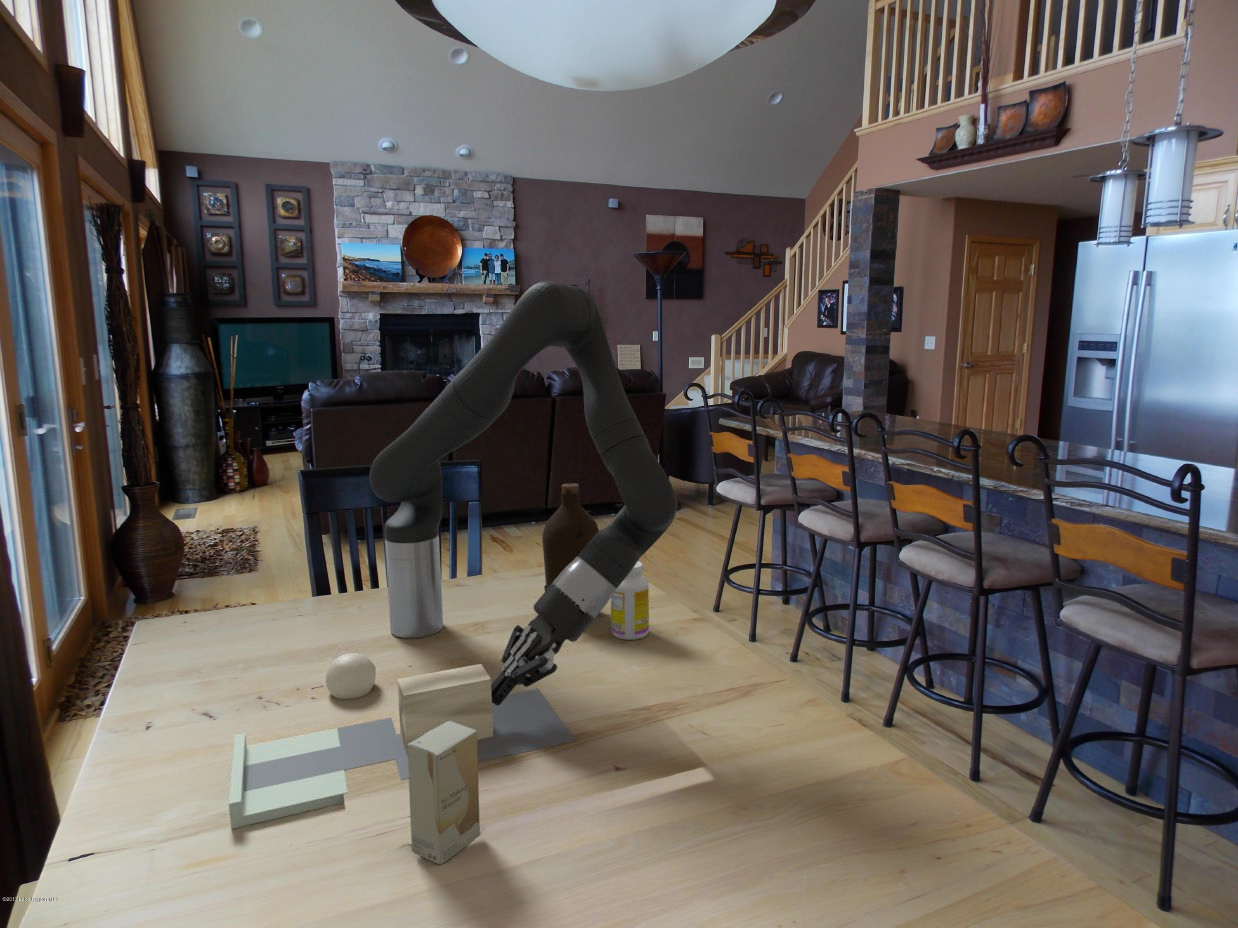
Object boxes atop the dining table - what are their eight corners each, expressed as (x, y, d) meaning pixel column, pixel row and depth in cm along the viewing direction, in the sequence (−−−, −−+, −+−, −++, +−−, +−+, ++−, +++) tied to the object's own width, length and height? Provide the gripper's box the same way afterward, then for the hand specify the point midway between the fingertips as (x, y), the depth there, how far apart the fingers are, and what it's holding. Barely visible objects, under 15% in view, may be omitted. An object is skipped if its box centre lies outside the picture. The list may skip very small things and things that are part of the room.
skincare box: (440, 867, 80) (434, 756, 78) (410, 852, 83) (403, 744, 80) (483, 832, 86) (478, 728, 83) (453, 820, 88) (448, 717, 86)
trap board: (236, 756, 101) (234, 734, 101) (538, 696, 117) (537, 676, 116) (231, 828, 87) (228, 803, 86) (576, 748, 102) (575, 727, 102)
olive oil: (612, 612, 150) (611, 483, 146) (574, 629, 142) (572, 493, 137) (570, 600, 156) (568, 476, 152) (532, 616, 148) (528, 485, 144)
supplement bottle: (650, 627, 143) (650, 558, 140) (647, 641, 136) (647, 570, 134) (613, 626, 143) (612, 557, 141) (609, 640, 137) (608, 569, 135)
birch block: (400, 736, 103) (397, 679, 102) (483, 718, 108) (481, 663, 106) (407, 755, 99) (403, 695, 97) (493, 736, 103) (490, 678, 102)
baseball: (387, 689, 119) (385, 647, 118) (358, 711, 113) (354, 667, 111) (349, 683, 121) (346, 642, 120) (318, 705, 115) (314, 661, 113)
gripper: (540, 568, 112) (459, 665, 110) (573, 597, 100) (482, 707, 98) (576, 598, 115) (497, 693, 113) (612, 630, 103) (525, 737, 101)
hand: (491, 700), depth 105 cm, fingers closed
